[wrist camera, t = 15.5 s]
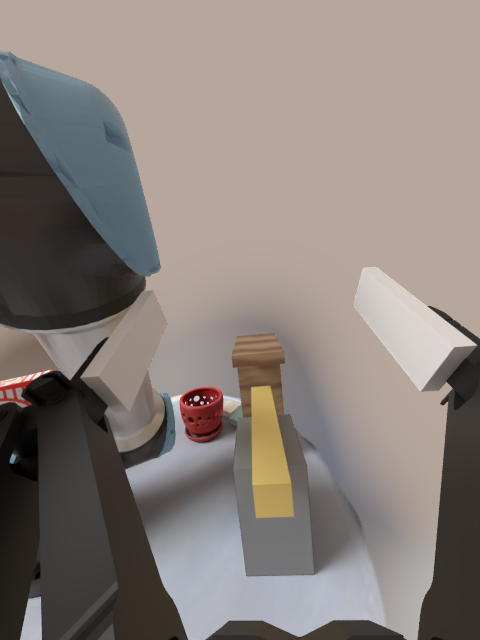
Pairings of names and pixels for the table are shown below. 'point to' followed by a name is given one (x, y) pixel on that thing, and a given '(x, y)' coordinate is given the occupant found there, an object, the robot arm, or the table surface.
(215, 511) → the table surface
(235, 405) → the digit tile cream
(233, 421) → the digit tile teal
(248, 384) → the shelf stand
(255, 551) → the gray rectangular block
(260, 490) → the number bar
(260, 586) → the table surface
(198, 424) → the plant pot
